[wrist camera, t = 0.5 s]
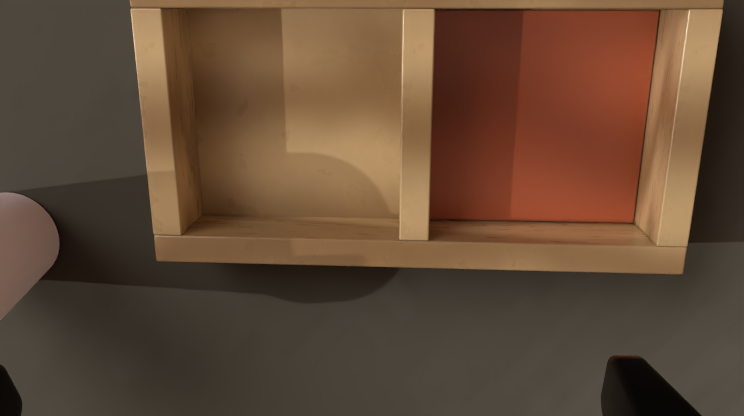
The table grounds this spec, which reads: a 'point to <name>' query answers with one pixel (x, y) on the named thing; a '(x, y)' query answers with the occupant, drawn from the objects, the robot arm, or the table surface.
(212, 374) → the table surface
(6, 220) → the smoothie
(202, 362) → the table surface
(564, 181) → the caddy
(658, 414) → the robot arm
